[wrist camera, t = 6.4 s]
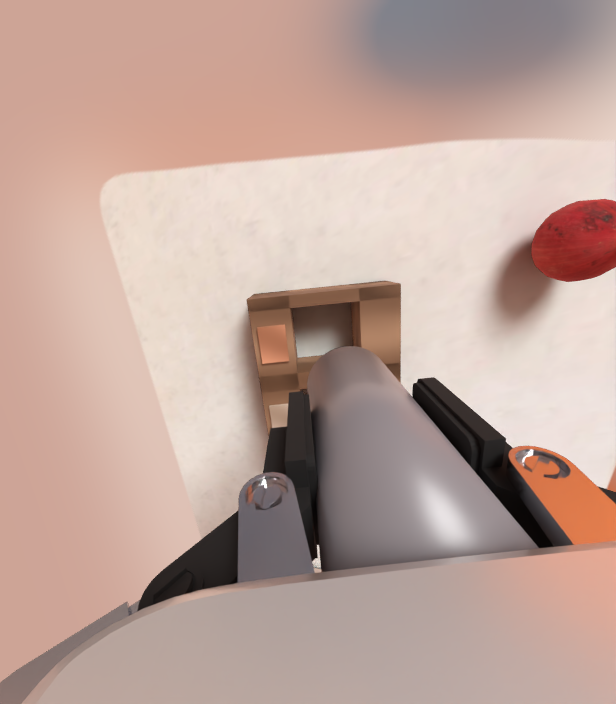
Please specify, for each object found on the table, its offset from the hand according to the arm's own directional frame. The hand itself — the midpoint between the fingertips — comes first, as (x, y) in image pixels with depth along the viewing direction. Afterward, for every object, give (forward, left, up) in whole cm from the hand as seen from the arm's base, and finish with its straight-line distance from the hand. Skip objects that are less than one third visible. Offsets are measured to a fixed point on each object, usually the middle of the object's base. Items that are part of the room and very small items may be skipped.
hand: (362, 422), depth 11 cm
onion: (+5, -20, -17) cm, 27 cm away
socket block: (-4, 0, -17) cm, 17 cm away
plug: (0, 0, -3) cm, 3 cm away
